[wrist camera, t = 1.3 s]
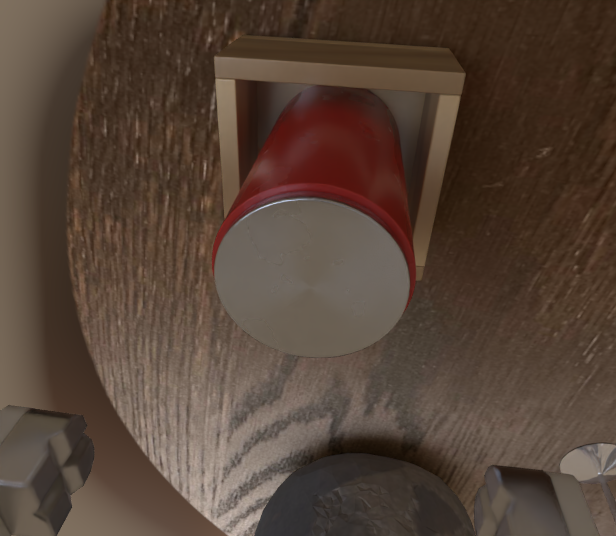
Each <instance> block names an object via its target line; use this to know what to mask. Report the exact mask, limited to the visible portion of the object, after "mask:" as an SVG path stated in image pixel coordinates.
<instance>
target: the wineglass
mask: <svg viewBox="0 0 616 536" xmlns="http://www.w3.org/2000/svg"><path fill="white" fill-rule="evenodd" d="M560 470H561V472H562V473H564V474H571V475H574V476H575V478H576V479H577V480H578V481H579V483H586V484H597V483H601V486H602V489H603V492H604V494H605V497H606V500H607V503H608V505H609V508H610V511H611V513H612V516H613V519H614V522H615V524H616V501H615V498H614V496H613V494H612V492H611V490H610V488H609V486H608V484H607V482H608V481H612V480H615V479H616V445H613V444H601V443H599V444H591V445H586V446H582V447H579V448H576V449H575V450H573V451H571V452H569V453H568V454H567V455H566V456H565V457H564V458H563V459H562V461H561V463H560Z"/></svg>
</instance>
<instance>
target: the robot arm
mask: <svg viewBox="0 0 616 536" xmlns="http://www.w3.org/2000/svg"><path fill="white" fill-rule="evenodd" d="M86 427H87V424H86V422H85V419H84V417H83V415H76V414H69V413H62V412H55V411H47V410H40V409H34V408H26V407H18V406H10V405H8V406H7V407H5V408H4V409H2V410H0V536H11V535H14V536H57V534H58V532H59V530H60V528H61V527H62V525H63V523H64V521H65V519H66V517H67V516H68V514H69V512H70V510H71V508H72V504H71V496H70V495H72V494H73V493H74V492H76V491H77V490H78V489H80V488H81V487H83V486H84V484H85V481H86V480H87V478H88V476H89V474H90V472H91V468H92V464H93V460H94V445H93V442H92V439H90V438H89V437H88V436H87V435H86V434H84V433H83V432H84V430H85V429H86ZM484 476H485V481H486V485H485V486H483V487H481V488H479V489H478V492H477V495H476V498H475V505H474V524H475V531H476V536H600V535H599V532H598V530H597V527H596V525H595V522H594V519H593V517H592V514H591V512H590V509H589V507H588V504H587V501H586V499H585V496H584V494H583V491H582V489H581V486H580V483H579V481H578V480H577V479H576V478H575V476H574V475H571V474H564V473H554V472H545V471H543V470H535V469H525V468H516V467H507V466H497V465H491V466H489V467H488V468H487V470H486V473H485V475H484Z"/></svg>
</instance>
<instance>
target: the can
mask: <svg viewBox="0 0 616 536" xmlns="http://www.w3.org/2000/svg"><path fill="white" fill-rule="evenodd" d="M212 270H213V276H214V280H215V285H216V289H217V292H218V296H219V298H220V300H221V302H222V305H223V307H224V308H225V310H226V311H227V313H228V314H229V316H230V317H231V318H232V319H233V321H234V322H235V323H236V324H237V325H238V326H239V327H240V328H241V329H242V330H243V331H244V332H246V333H247V334H248V335H250V336H251V337H252V338H254V339H256V340H257V341H259V342H261V343H262V344H264V345H266V346H268V347H271V348H273V349H275V350H278V351H281V352H284V353H287V354H291V355H295V356H302V357H311V358H330V357H337V356H343V355H347V354H351V353H354V352H357V351H360V350H362V349H365V348H367V347H369V346H371V345H372V344H374V343H376V342H377V341H379V340H380V339H382V338H383V337H384V336H385V335H386V334H387V333H389V332H390V330H391V329H392V328H393V327H394V326H395V325H396V324H397V322H398V321H399V319H400V318H401V316H402V314H403V313H404V311H405V310H406V308H407V307H408V304H409V302H410V300H411V298H412V295H413V292H414V288H415V282H416V262H415V254H414V246H413V238H412V230H411V222H410V214H409V206H408V198H407V190H406V182H405V175H404V167H403V159H402V151H401V143H400V135H399V130H398V127H397V124H396V121H395V119H394V117H393V115H392V113H391V111H390V110H389V108H388V107H387V105H386V104H385V103H384V102H383V101H382V100H381V99H380V98H379V97H377V96H376V95H375V94H374V93H372V92H370V91H369V90H367V89H364V88H350V87H336V86H321V85H314V86H311V87H309V88H307V89H305V90H303V91H301V92H300V93H298V94H297V95H296V96H295V97H293V98H292V99H291V100H290V101H289V102H288V103H287V105H286V106H285V107H284V109H283V110H282V112H281V113H280V115H279V117H278V119H277V121H276V123H275V125H274V127H273V129H272V130H271V132H270V134H269V136H268V138H267V140H266V142H265V144H264V146H263V148H262V150H261V151H260V153H259V155H258V157H257V159H256V161H255V163H254V165H253V167H252V169H251V170H250V172H249V174H248V176H247V178H246V180H245V182H244V184H243V186H242V188H241V189H240V191H239V193H238V195H237V197H236V199H235V201H234V203H233V205H232V207H231V208H230V210H229V212H228V214H227V216H226V218H225V220H224V222H223V224H222V226H221V228H220V230H219V231H218V233H217V236H216V239H215V242H214V246H213V252H212Z"/></svg>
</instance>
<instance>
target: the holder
mask: <svg viewBox="0 0 616 536" xmlns="http://www.w3.org/2000/svg"><path fill="white" fill-rule="evenodd" d="M214 66H215V77H216V96H217V111H218V126H219V141H220V156H221V172H222V187H223V202H224V217H225V218H226V216H227V214H228V212H229V210H230V208H231V207H232V205H233V203H234V201H235V199H236V197H237V195H238V193H239V191H240V189H241V188H242V186H243V184H244V182H245V180H246V178H247V176H248V174H249V172H250V170H251V169H252V167H253V165H254V163H255V161H256V159H257V157H258V155H259V153H260V151H261V150H262V148H263V146H264V144H265V142H266V140H267V138H268V136H269V134H270V132H271V130H272V129H273V127H274V125H275V123H276V121H277V119H278V117H279V115H280V113H281V112H282V110H283V109H284V107H285V106H286V105H287V103H288V102H289V101H290V100H291V99H292V98H293V97H295V96H296V95H297V94H298V93H300V92H301V91H303V90H305V89H307V88H309V87H311V86H314V85H321V86H336V87H350V88H364V89H367V90H369V91H370V92H372V93H374V94H375V95H376V96H377V97H379V98H380V99H381V100H382V101H383V102H384V103H385V104H386V105H387V107H388V108H389V110H390V111H391V113H392V115H393V117H394V119H395V121H396V124H397V127H398V130H399V135H400V143H401V151H402V159H403V167H404V175H405V182H406V190H407V198H408V206H409V214H410V222H411V230H412V238H413V246H414V254H415V262H416V280H418V281H421V280H422V276H423V272H424V265H425V262H426V257H427V252H428V248H429V243H430V238H431V234H432V229H433V224H434V220H435V215H436V210H437V206H438V201H439V196H440V192H441V187H442V182H443V178H444V173H445V168H446V164H447V159H448V154H449V150H450V145H451V141H452V136H453V131H454V127H455V122H456V117H457V113H458V108H459V103H460V99H461V97H460V95H461V94H462V90H463V85H464V81H465V76H466V73H465V71H464V70H463V68H462V67H461V65H460V64H459V62H458V61H457V59H456V58H455V56H454V55H453V53H452V52H451V51H450V49H449V48H441V47H425V46H409V45H394V44H378V43H363V42H347V41H332V40H316V39H300V38H285V37H269V36H254V35H242V36H241V37H240V38H238V39H236V40H235V41H234V42H232V43H231V44H230V45H228V46H227V47H226V48H224V49H223V50H222V51H220V52H219V53H218V54H217V55H215V56H214Z"/></svg>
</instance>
